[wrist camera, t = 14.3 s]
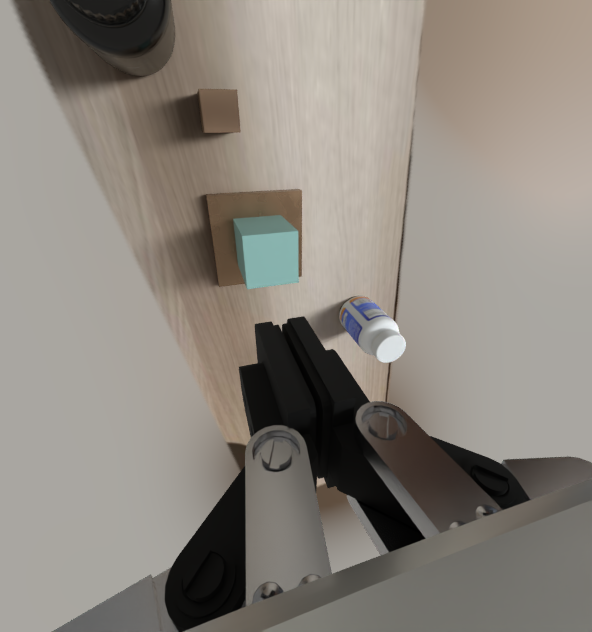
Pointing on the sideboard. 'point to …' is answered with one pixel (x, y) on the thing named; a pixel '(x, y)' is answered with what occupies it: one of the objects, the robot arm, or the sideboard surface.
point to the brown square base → (247, 206)
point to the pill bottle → (372, 329)
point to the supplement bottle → (123, 31)
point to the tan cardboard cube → (219, 110)
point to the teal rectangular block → (266, 251)
